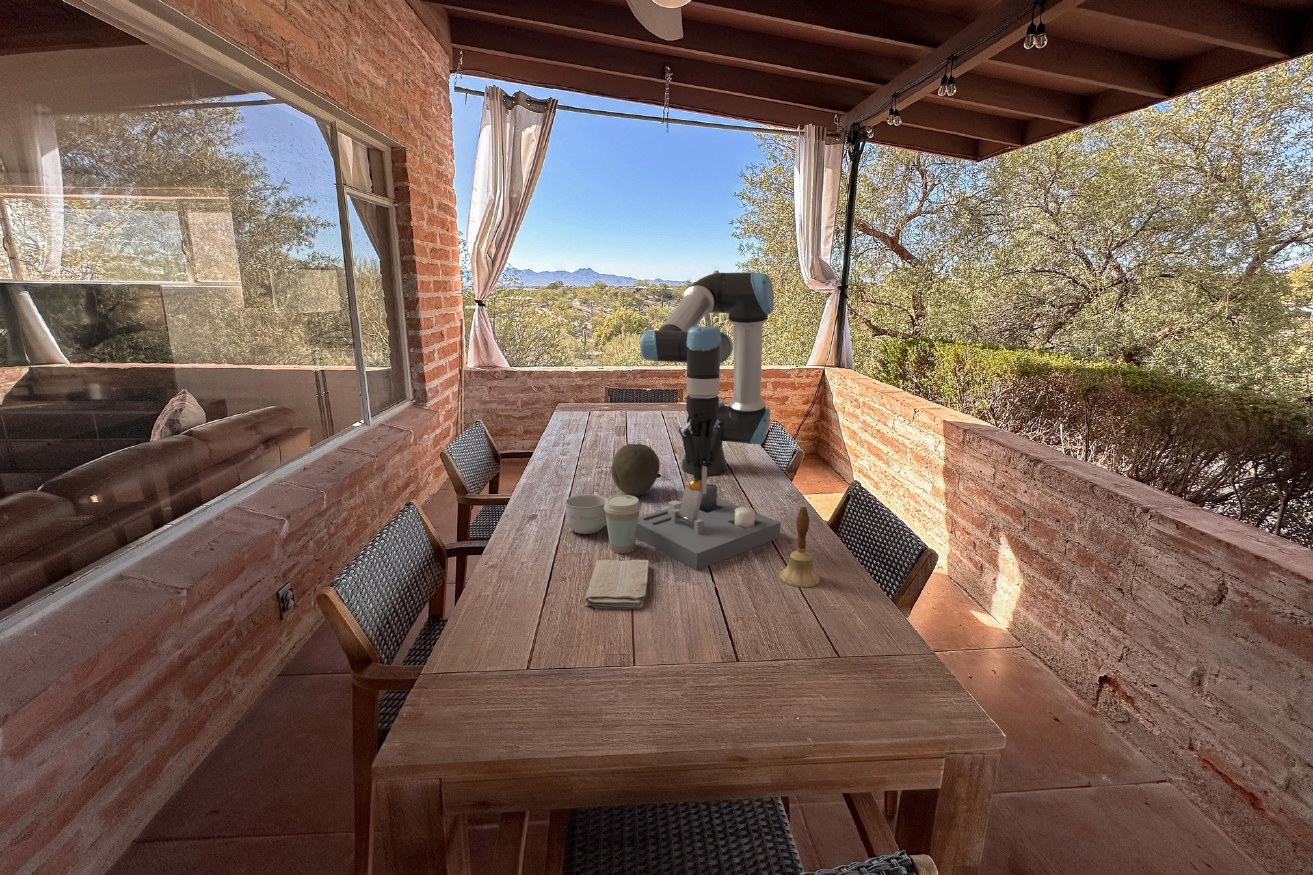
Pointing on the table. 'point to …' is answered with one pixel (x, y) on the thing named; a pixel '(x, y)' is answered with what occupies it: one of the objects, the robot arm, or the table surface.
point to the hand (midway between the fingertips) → (700, 491)
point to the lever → (690, 502)
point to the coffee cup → (622, 522)
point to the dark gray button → (709, 498)
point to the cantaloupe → (635, 469)
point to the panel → (704, 534)
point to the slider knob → (673, 506)
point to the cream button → (744, 517)
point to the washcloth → (618, 584)
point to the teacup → (585, 513)
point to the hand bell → (800, 558)
